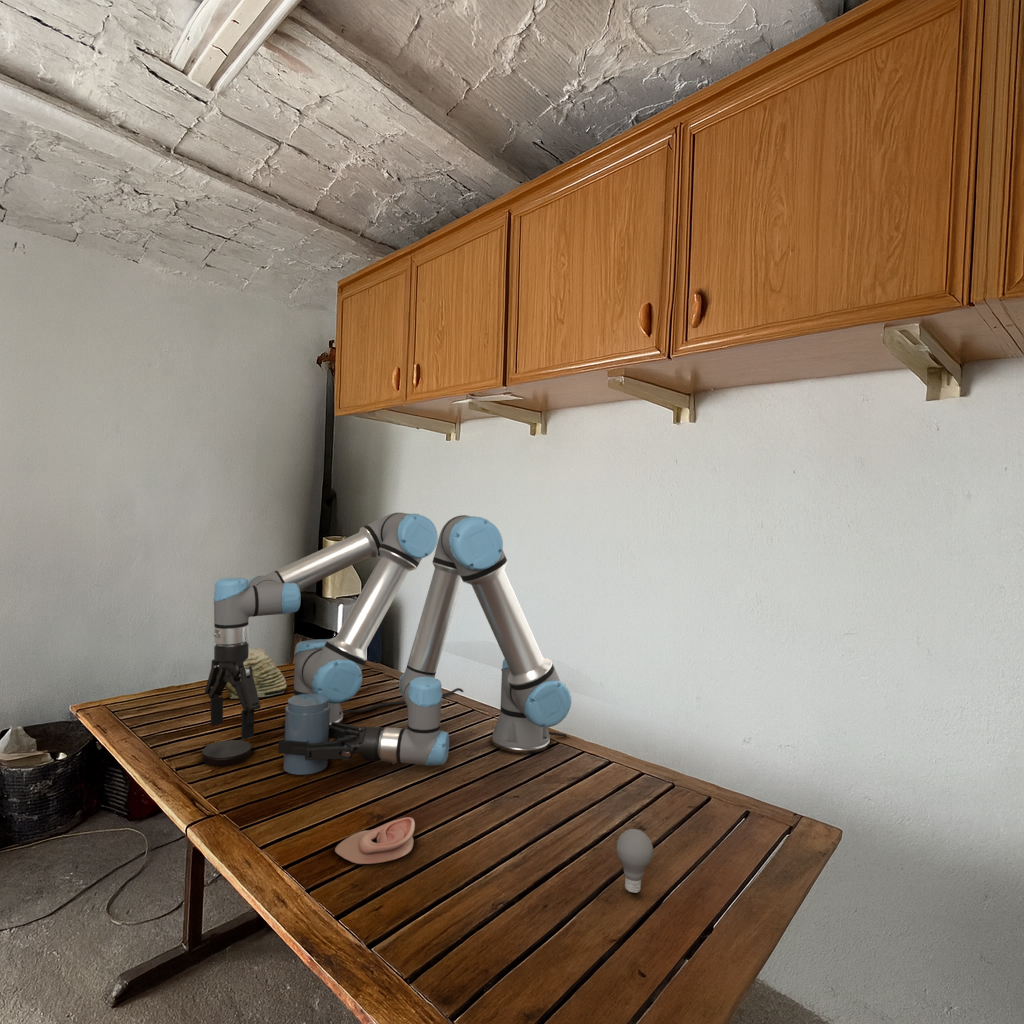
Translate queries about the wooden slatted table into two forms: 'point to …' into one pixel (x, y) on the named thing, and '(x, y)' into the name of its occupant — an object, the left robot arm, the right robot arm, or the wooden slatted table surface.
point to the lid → (226, 753)
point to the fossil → (262, 675)
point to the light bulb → (634, 857)
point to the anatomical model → (379, 843)
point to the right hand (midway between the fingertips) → (289, 737)
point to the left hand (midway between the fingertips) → (231, 731)
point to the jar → (306, 730)
